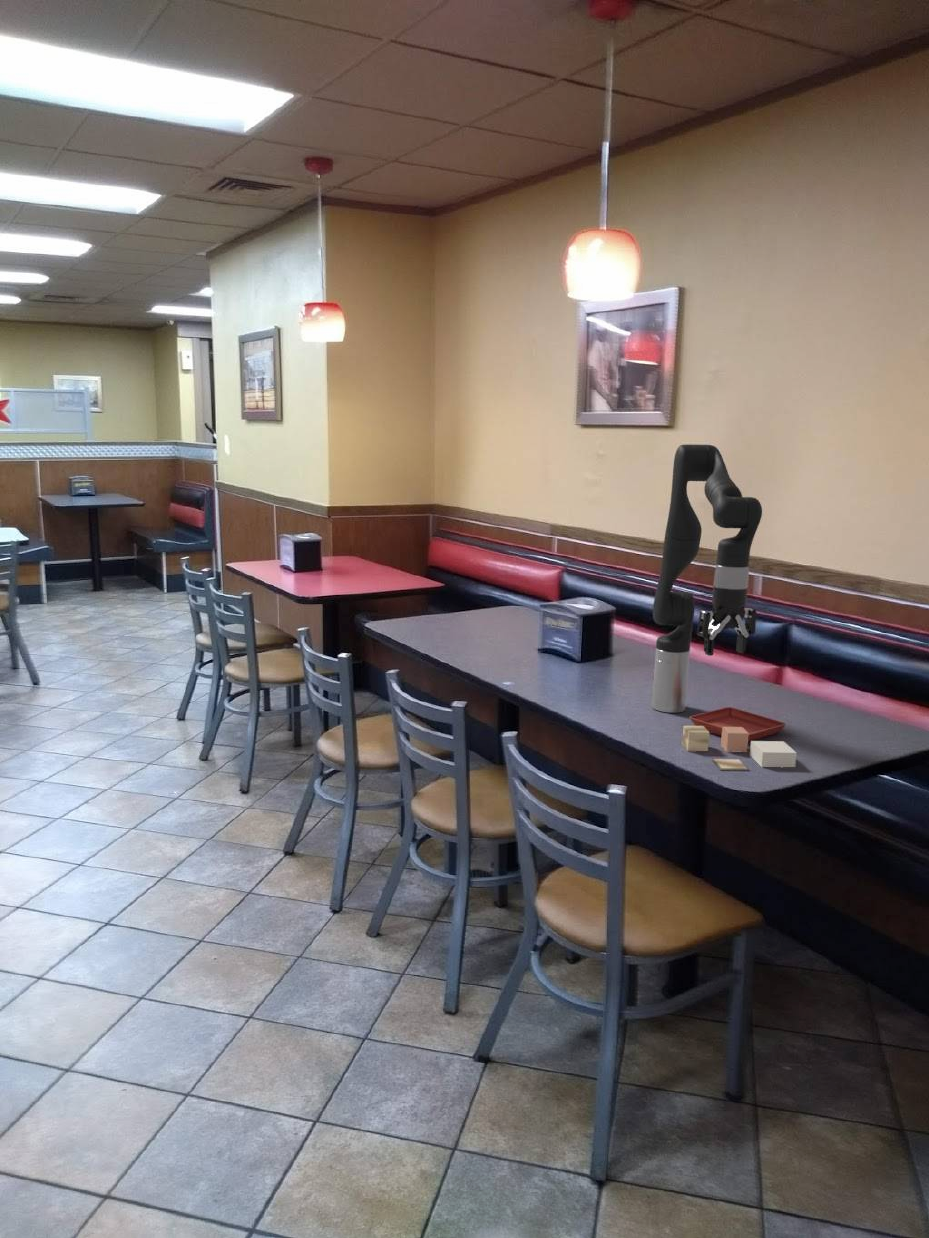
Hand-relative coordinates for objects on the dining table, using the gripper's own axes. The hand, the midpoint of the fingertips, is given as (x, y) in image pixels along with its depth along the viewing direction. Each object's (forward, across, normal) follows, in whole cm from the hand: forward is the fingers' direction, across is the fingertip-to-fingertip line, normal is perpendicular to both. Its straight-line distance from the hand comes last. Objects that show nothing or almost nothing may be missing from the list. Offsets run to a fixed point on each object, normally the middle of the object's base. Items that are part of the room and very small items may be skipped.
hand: (724, 653), depth 214 cm
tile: (+26, -2, +4) cm, 27 cm away
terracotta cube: (+26, -10, -6) cm, 29 cm away
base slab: (+27, -13, +4) cm, 30 cm away
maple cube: (+26, 0, -9) cm, 28 cm away
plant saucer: (+27, -19, -18) cm, 38 cm away
